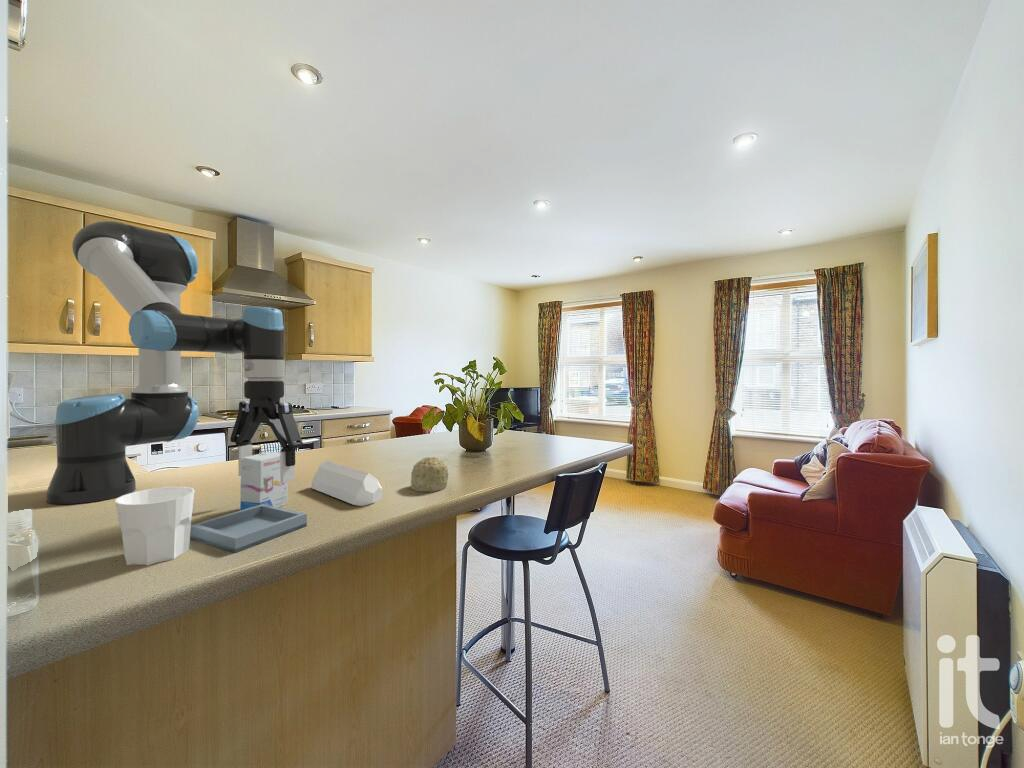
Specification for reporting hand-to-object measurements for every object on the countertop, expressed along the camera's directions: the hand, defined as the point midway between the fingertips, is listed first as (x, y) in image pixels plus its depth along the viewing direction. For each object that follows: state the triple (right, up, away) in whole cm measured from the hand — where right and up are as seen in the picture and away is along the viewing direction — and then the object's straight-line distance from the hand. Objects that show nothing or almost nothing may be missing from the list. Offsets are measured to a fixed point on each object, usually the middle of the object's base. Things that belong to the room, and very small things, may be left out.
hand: (266, 478), depth 95 cm
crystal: (+13, -7, +12) cm, 19 cm away
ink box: (0, -7, 0) cm, 7 cm away
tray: (+4, -7, -13) cm, 15 cm away
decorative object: (+32, -7, +19) cm, 38 cm away
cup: (-5, -8, -23) cm, 25 cm away
